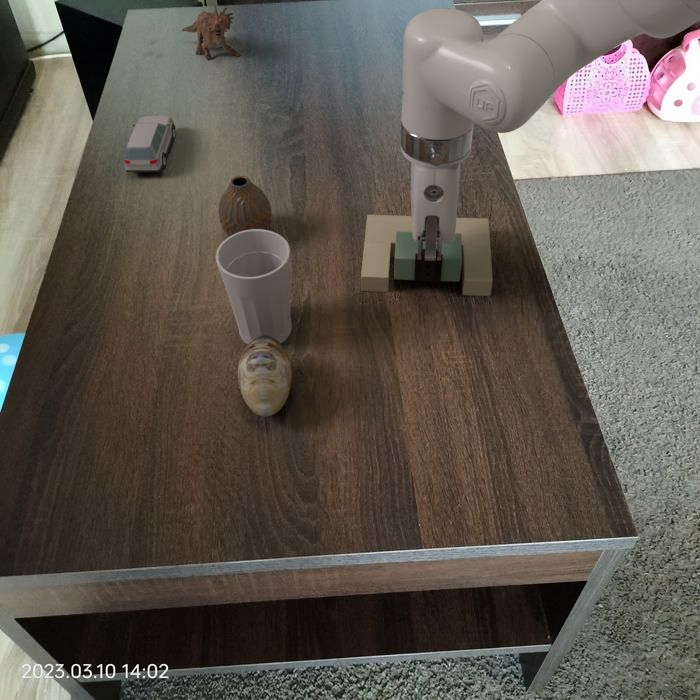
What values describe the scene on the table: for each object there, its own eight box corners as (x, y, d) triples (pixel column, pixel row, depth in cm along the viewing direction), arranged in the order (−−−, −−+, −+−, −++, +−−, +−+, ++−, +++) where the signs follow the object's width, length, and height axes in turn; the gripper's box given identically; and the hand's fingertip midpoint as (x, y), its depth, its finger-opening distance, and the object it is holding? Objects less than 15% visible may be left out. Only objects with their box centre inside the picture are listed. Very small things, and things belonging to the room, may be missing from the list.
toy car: (179, 130, 116) (173, 101, 112) (163, 179, 107) (156, 150, 103) (144, 130, 116) (136, 102, 112) (125, 179, 107) (116, 150, 104)
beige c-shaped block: (486, 233, 97) (488, 218, 96) (490, 296, 90) (492, 281, 88) (367, 229, 99) (367, 214, 97) (361, 291, 91) (360, 276, 89)
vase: (252, 211, 102) (244, 158, 95) (284, 234, 98) (278, 180, 92) (213, 234, 99) (201, 181, 92) (245, 258, 95) (235, 205, 89)
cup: (307, 341, 86) (300, 266, 76) (242, 361, 84) (226, 287, 75) (286, 297, 90) (276, 221, 81) (224, 315, 89) (207, 240, 80)
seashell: (295, 429, 77) (288, 382, 71) (241, 433, 77) (230, 386, 71) (293, 361, 84) (287, 313, 78) (244, 364, 83) (233, 316, 77)
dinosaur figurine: (250, 60, 130) (243, 7, 123) (223, 71, 127) (214, 19, 120) (207, 34, 137) (198, -17, 130) (180, 45, 134) (170, -7, 127)
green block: (458, 254, 92) (461, 233, 89) (459, 281, 89) (462, 260, 86) (395, 252, 93) (396, 231, 90) (394, 279, 89) (394, 258, 87)
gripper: (474, 185, 71) (459, 314, 85) (470, 94, 82) (457, 221, 96) (397, 183, 71) (394, 312, 85) (403, 93, 83) (400, 219, 96)
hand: (427, 263), depth 90 cm, fingers closed on green block, 4 cm apart
